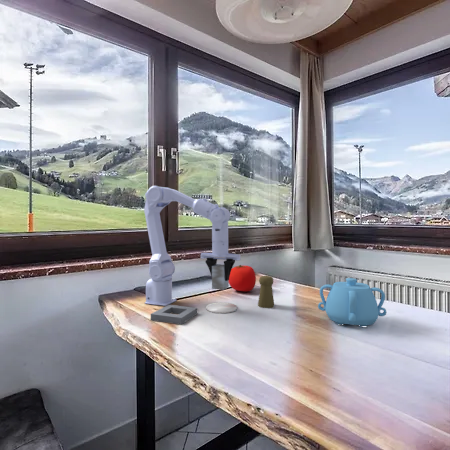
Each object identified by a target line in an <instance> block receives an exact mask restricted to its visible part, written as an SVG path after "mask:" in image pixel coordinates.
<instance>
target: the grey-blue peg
mask: <svg viewBox="0 0 450 450" xmlns="http://www.w3.org/2000/svg"><path fill="white" fill-rule="evenodd" d="M229 286H230V284H229V280H228V281H225V266H224V264H217V263H216V265H214V266H212V277H211V289H212V290H218V291H219V290H221V291H224V290H226V289H227V288H229Z"/></svg>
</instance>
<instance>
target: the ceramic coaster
mask: <svg viewBox="0 0 450 450" xmlns="http://www.w3.org/2000/svg"><path fill="white" fill-rule="evenodd" d="M205 310H207V312H209V313H212V314H229V313H233V312H236V311H237V310H238V306H237V305H236V304H235V303H230V302H214V303H209V304H207V305H206V307H205Z"/></svg>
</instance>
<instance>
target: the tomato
mask: <svg viewBox="0 0 450 450" xmlns="http://www.w3.org/2000/svg"><path fill="white" fill-rule="evenodd" d="M256 283H257V276H256V272H255V269H254V268H253V267H252V266H249V265H241V264H239V265H237V266H233V267H232V270H231V273H230V277H229V286H230V287H231V288H232V289H233V290H234V291H235V290H236V291H239V292H251V291H252V290H254V288H255V286H256Z"/></svg>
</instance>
